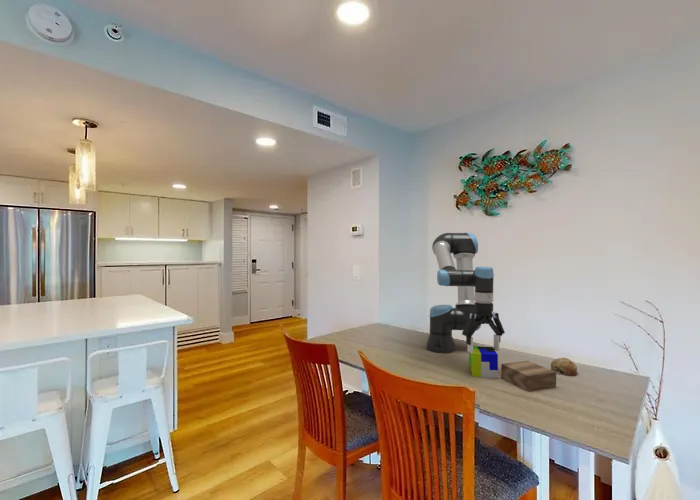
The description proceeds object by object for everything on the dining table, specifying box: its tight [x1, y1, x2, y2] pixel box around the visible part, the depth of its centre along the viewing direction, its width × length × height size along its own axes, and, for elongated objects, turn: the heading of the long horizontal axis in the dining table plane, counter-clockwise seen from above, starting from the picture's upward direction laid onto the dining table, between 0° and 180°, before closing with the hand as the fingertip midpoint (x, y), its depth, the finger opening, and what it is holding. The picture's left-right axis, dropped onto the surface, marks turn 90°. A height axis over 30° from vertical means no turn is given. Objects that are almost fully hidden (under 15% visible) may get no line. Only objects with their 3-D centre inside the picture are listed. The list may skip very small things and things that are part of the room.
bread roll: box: [550, 357, 578, 377], centre depth 151 cm, size 10×10×8 cm
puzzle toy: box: [468, 345, 499, 379], centre depth 149 cm, size 10×10×10 cm
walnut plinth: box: [500, 360, 557, 392], centre depth 139 cm, size 14×14×6 cm
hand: (483, 351), depth 148 cm, fingers open, 13 cm apart
